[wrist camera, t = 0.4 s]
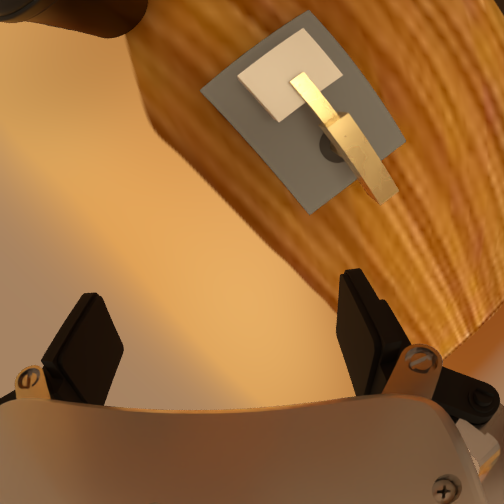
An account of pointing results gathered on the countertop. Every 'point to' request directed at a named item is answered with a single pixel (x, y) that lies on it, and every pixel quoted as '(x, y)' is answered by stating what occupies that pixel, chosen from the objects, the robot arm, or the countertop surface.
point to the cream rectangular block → (288, 74)
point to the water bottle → (77, 14)
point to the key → (348, 142)
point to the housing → (305, 119)
